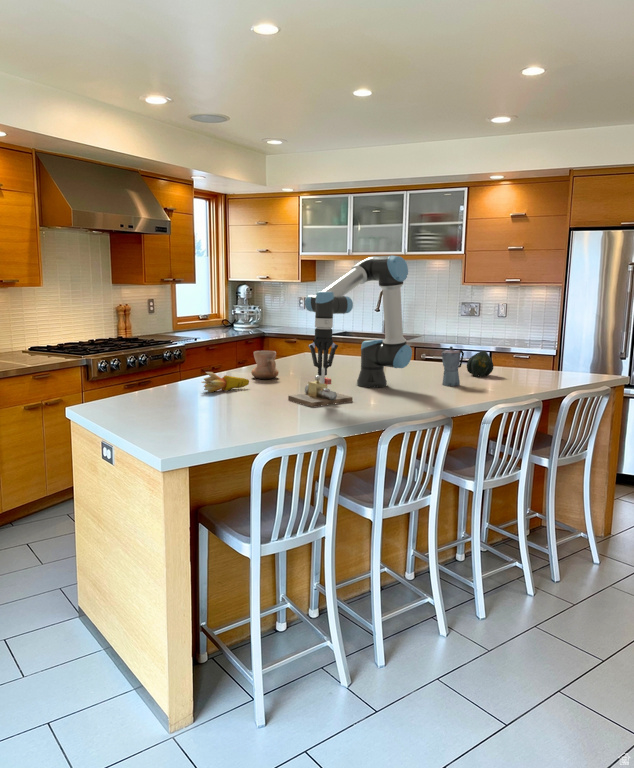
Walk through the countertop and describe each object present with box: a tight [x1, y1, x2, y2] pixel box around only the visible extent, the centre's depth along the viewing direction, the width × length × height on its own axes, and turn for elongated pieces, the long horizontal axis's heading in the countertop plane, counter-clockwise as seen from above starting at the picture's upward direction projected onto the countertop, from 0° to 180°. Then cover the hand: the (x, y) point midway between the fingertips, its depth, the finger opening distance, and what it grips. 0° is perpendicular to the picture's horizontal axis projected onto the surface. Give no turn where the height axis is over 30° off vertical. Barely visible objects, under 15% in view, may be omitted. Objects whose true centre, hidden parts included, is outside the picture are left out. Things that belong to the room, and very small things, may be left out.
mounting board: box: [287, 392, 353, 408], centre depth 274 cm, size 22×18×2 cm
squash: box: [466, 350, 495, 377], centre depth 350 cm, size 14×15×15 cm
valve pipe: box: [304, 380, 337, 400], centre depth 273 cm, size 6×19×7 cm, turn 36°
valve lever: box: [314, 374, 332, 386], centre depth 270 cm, size 12×3×2 cm, turn 26°
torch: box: [200, 371, 250, 393], centre depth 295 cm, size 8×8×25 cm
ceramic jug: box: [251, 350, 279, 380], centre depth 330 cm, size 18×14×14 cm
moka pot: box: [441, 346, 465, 387], centre depth 318 cm, size 10×15×20 cm, turn 127°
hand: (322, 383), depth 266 cm, fingers closed
